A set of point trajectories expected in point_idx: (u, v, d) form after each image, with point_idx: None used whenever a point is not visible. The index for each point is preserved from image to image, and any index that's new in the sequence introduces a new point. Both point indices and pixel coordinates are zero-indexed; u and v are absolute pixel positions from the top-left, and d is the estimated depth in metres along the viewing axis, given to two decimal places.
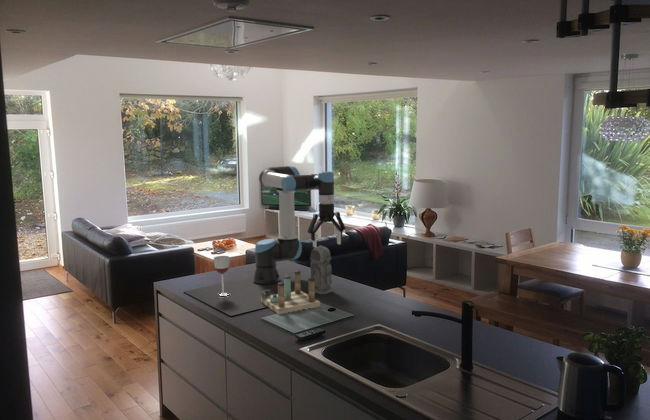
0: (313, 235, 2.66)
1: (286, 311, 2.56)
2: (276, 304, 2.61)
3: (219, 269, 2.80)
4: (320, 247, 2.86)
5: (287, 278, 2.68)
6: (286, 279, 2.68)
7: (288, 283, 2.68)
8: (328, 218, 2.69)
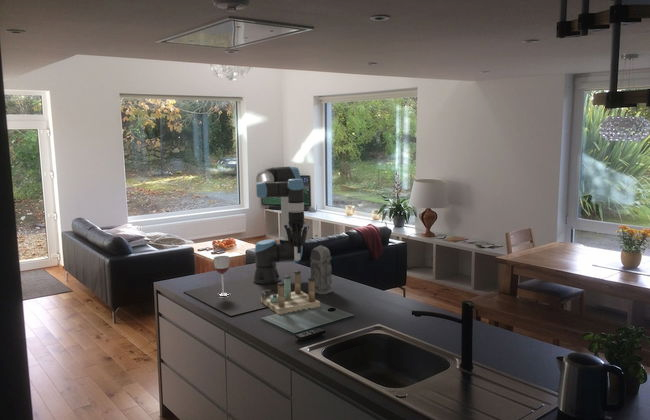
0: None
1: (286, 311, 2.56)
2: (276, 304, 2.61)
3: (219, 269, 2.80)
4: (320, 247, 2.86)
5: (287, 278, 2.68)
6: (286, 279, 2.68)
7: (288, 283, 2.68)
8: None
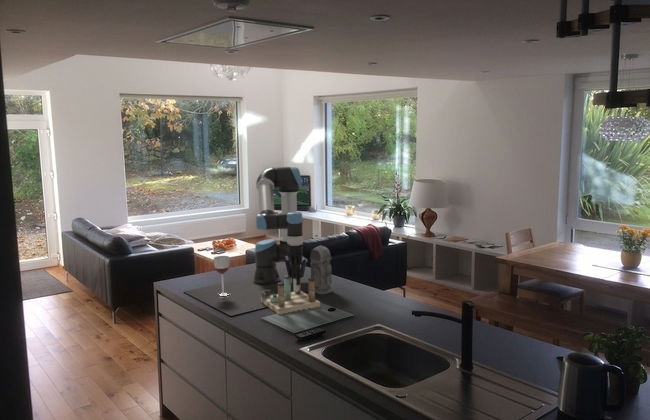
0: None
1: (286, 311, 2.56)
2: (276, 304, 2.61)
3: (219, 269, 2.80)
4: (320, 247, 2.86)
5: (287, 278, 2.68)
6: (286, 279, 2.68)
7: (288, 283, 2.68)
8: None
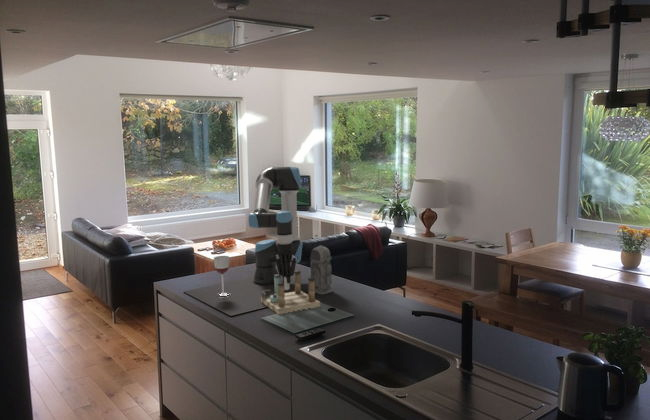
0: None
1: (286, 311, 2.56)
2: (276, 304, 2.61)
3: (219, 269, 2.80)
4: (320, 247, 2.86)
5: (279, 276, 2.71)
6: (278, 278, 2.70)
7: (280, 281, 2.71)
8: None
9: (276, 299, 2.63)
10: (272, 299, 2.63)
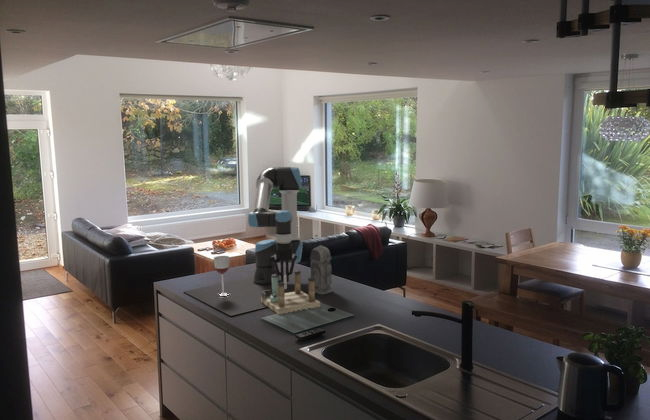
0: None
1: (286, 311, 2.56)
2: (276, 304, 2.61)
3: (219, 269, 2.80)
4: (320, 247, 2.86)
5: (277, 276, 2.71)
6: (276, 278, 2.71)
7: (277, 281, 2.72)
8: None
9: (277, 299, 2.63)
10: (273, 299, 2.63)
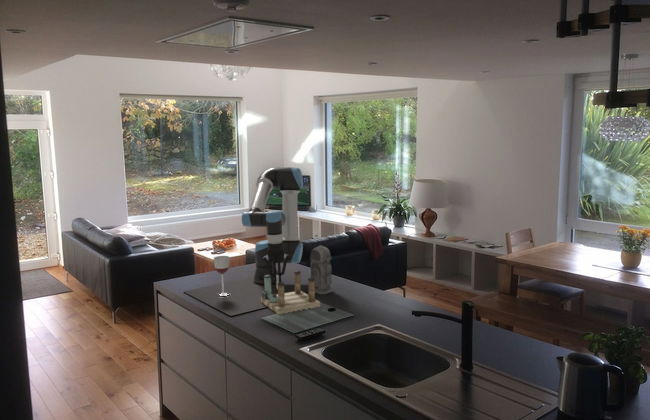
0: None
1: (286, 311, 2.56)
2: (276, 304, 2.61)
3: (219, 269, 2.80)
4: (320, 247, 2.86)
5: (270, 277, 2.70)
6: (270, 278, 2.70)
7: (270, 281, 2.71)
8: None
9: None
10: (275, 299, 2.63)
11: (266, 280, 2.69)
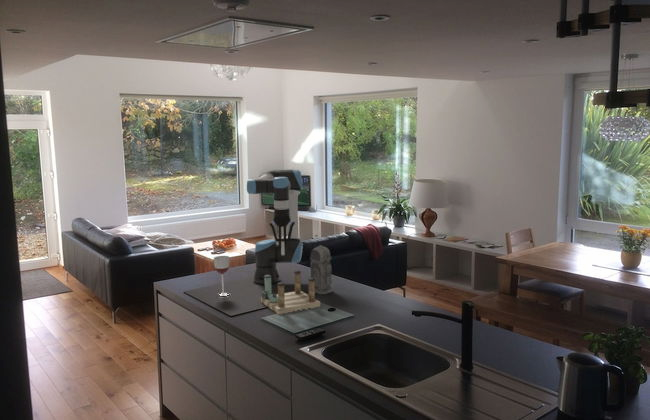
0: None
1: (286, 311, 2.56)
2: (276, 304, 2.61)
3: (219, 269, 2.80)
4: (320, 247, 2.86)
5: None
6: (270, 278, 2.70)
7: None
8: None
9: None
10: (275, 299, 2.63)
11: (266, 280, 2.69)
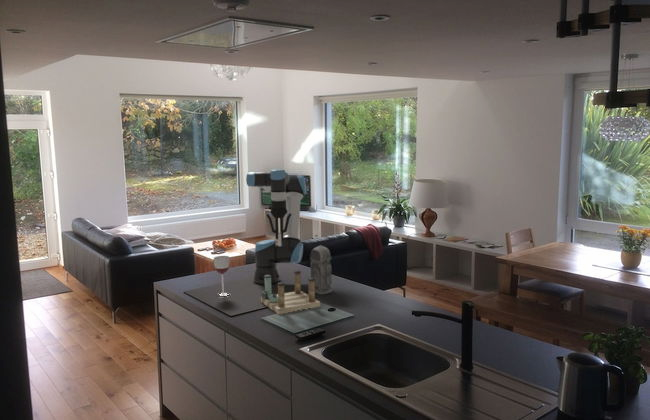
0: None
1: (286, 311, 2.56)
2: (276, 304, 2.61)
3: (219, 269, 2.80)
4: (320, 247, 2.86)
5: None
6: (270, 278, 2.70)
7: None
8: None
9: None
10: (275, 299, 2.63)
11: (266, 280, 2.69)
